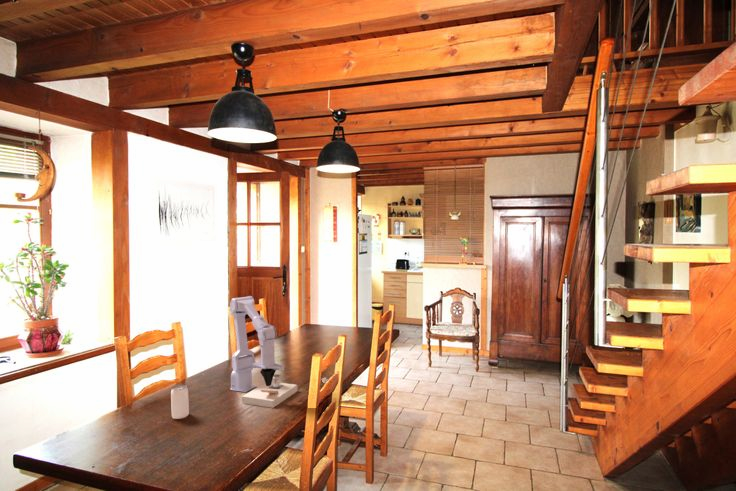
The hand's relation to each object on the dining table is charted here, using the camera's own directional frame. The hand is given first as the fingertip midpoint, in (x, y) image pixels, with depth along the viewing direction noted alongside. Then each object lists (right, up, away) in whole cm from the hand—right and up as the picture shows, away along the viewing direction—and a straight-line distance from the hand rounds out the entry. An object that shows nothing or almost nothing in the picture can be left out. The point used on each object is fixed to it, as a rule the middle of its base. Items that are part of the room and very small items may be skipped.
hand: (268, 385), depth 189 cm
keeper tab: (0, -3, +1) cm, 3 cm away
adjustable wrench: (+21, -7, +16) cm, 28 cm away
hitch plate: (-1, -7, +7) cm, 10 cm away
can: (-34, -9, -12) cm, 37 cm away
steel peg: (+1, -7, +11) cm, 13 cm away
